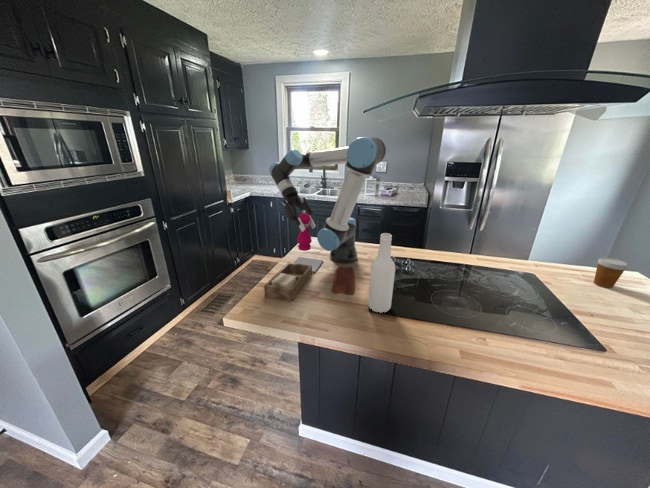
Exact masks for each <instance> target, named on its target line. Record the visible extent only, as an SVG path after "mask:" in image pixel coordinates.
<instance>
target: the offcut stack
mask: <svg viewBox="0 0 650 488" xmlns="http://www.w3.org/2000/svg"><path fill="white" fill-rule="evenodd" d="M291 275H292V274H291ZM291 275H286V274H280V275H279V276H277V277H276V278H275V279H274V280H273V281H272V286H278V287H284V288H290V289H291V288H292V286H293V285H294V284H295V283H296V276H291Z"/></svg>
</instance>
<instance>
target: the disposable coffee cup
mask: <svg viewBox="0 0 650 488" xmlns="http://www.w3.org/2000/svg"><path fill="white" fill-rule="evenodd" d="M628 268H629V267H628V263H626V262H625V261H623V260H620V259H617V258H612V257H605V256H604V257H600V258H599V259H597V266H596V271H595V275H594V279H593V284H594V285H596V286H599V287H600V288H601V287H602V288H605V289H613V288H614V286H615V285H616V283H617V282H618V280H619V279H620V278H621V276H622V275H623V273H624V272H625V270H627V269H628Z"/></svg>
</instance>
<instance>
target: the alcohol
mask: <svg viewBox="0 0 650 488" xmlns="http://www.w3.org/2000/svg"><path fill="white" fill-rule="evenodd" d="M392 237H393V235H392V234H391V233H388V232H383V233H381V234H380V237H379V239H380V240H379V246H378V251H377V252H378V253H377V256H376V257H375V258H374V259H373V261H372V262H371V265H370V276H369V286H368V287H369V288H368V300H367V306H368V307H369V309H370V310H371V309H372V311H373V312H376V313H378V312H379V314H380V313H381V314H383V312H384V313H387V312H388V311H389V310H391V307H392V300H393V292H394V283H395V275H396V265H395V264H396V263H395V262H394V260H393V259H392V240H393V239H392Z"/></svg>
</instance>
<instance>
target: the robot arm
mask: <svg viewBox="0 0 650 488" xmlns="http://www.w3.org/2000/svg"><path fill="white" fill-rule="evenodd" d="M386 155H387V148H386V144H385V142H384V141H383V140H382V139H380V138H379V137H372V136H371V137H370V136H361V137H357V138H354V139H353V140H352V141H351V142H350V143H349V144H348V146H344V147H343V146H342V147H334V148H329V149H323V150H316V151H311V152H300V150H297V149H296V148H290V149H289V151H288V152H286V154H285V155H284V157H283V158H282V159H281V161H280V162H279V161H278V162H277V161H276V162H274V163H273V164H271V165H270V166H269V168H268V171H269V173H270V176H271V178H272V179H273V181H274V182H275V184H276V186H277V189H278V191H279V192H280V194H281V196H282V198H283V199H284V200H283V201H282V202H281V206H283V208H284V210H285V212H286V215H287V216H288V218H289V220H290V221H293V222H294V223H295V224H296V225H297V227H299V230H300V229H301V231H302V232H303V231H304V230H305V227H304V225H303V223H302V221H301V219H300V218H298V216H299V215H298V212H297V210H296V209H297V208H298V209H299V210H300V211H301V212H302V211H303V210H305V211H306V213H307V214H309V216H310V221H309V227H311V230H314V229H315V228H316V227H317V225H316V223H315V221H314V218H313V216H312V215H313V214H314V211H313V209H312V208H311V206H310V205H309V204H308V202H307V199H306V197H300V196H299V192H298V191H297V189H296V187H295V186H294V184H293V182H292V180H291V178H290V175H291V174H292V173H293V172H294V171H295V170H301V169H310V168H316V167H326V166H335V165H343V164H345V167H346V169H347V172H346V173H345V177H344V179H343V182H342V185H341V188H340V190H339V194H338V196H337V199H336V201H335V204H334V207H333V209H332V212H331V215H330V217H327V218H326V220H325V221H324V225H323V227H322V228H321V229H320V230H318V232H317V235H316V239H317V242H318V244H319V246H320V247H321V248H322V249H324V250H325V251H329V252H330V253H329V258H330V260H331V261H333V262H336V263H340V264H349V263H353V262H355V261H357V259H358V253H357V248H356V245H355V243H356V242H355V241H356V229H357V227H356V226H357V222H356V221H357V220H356V219H355V218H354V217H351V216H352V213H353V212H354V208H355V206H356V203H357V200H358V198H359V197H360V194H361V192H362V189H363V186H364V183H365V182H366V179H367V177H370V176H372V174H373V171H374V169H375V166H376V165H378V164H380V163H382V161H383V160H384V159H385V157H386ZM296 207H297V208H296Z"/></svg>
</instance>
